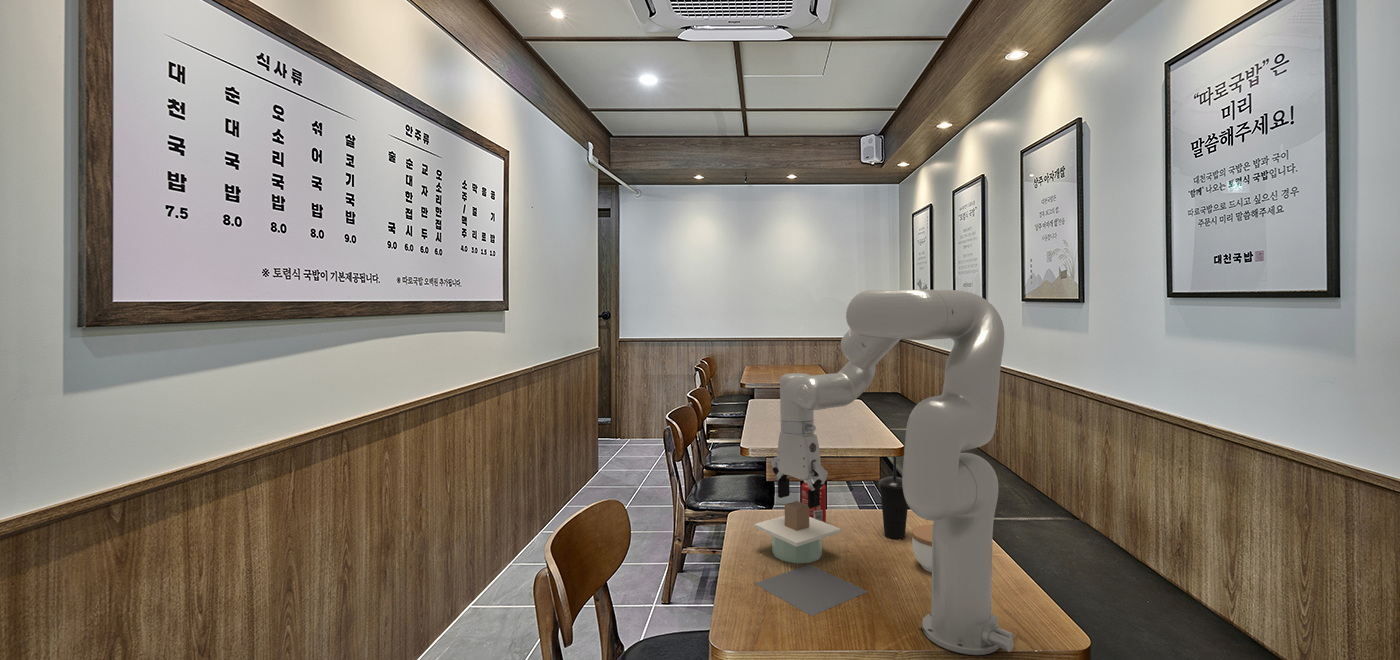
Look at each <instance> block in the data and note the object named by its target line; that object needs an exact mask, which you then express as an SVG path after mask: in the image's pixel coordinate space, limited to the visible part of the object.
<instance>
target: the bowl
mask: <svg viewBox="0 0 1400 660" xmlns="http://www.w3.org/2000/svg"><path fill="white" fill-rule="evenodd" d="M771 552H772V554H773V556H774V557H775V558H776V559H779V560H780V561H783V562H788V563H793V564H811V563H813V562H816V561H818V560H820V559H821V557H822V555H823V538H822V539H819V540H816V541H813V542H810V543H807V544H803V545H800V546H797V547H796V546H794V545H792V544H790V543H787V542H785V541H783V540H781V539H778V538H776V537H774V536H772V535H771Z"/></svg>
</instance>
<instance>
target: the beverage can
mask: <svg viewBox="0 0 1400 660" xmlns="http://www.w3.org/2000/svg"><path fill="white" fill-rule="evenodd" d="M812 482H813V484H814V481H813V480H812ZM808 490H810V488H809V486H808V484H807V483H806V481H805V480H803V483H801V503H804V504H806V505H808ZM809 517H811V518H814V519H817V520H819V521H822V522H824V523H827V485H826V483H825V484H824V485H823V486H822V488H821V489H820V505H819V506H817V507H814V508H809Z"/></svg>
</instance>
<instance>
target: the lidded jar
mask: <svg viewBox="0 0 1400 660" xmlns="http://www.w3.org/2000/svg"><path fill="white" fill-rule="evenodd" d="M932 529H933V524H923V525H922V524H921V525H917V526H914V527H913V528H912V529H911V542H912V543H911V545H912V551H913V554H914V557H915V559H916V561H917V562H918V563H919V564H920V565H921V566H922V568H923V569H924V571H926V572H928V573H930V574H932Z"/></svg>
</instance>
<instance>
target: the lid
mask: <svg viewBox="0 0 1400 660" xmlns="http://www.w3.org/2000/svg"><path fill="white" fill-rule="evenodd" d="M753 528H754V529H757V530H759V531H761V532H763V533H765V534H768V535H770V536H771V537H772V536H774V537H776V538H778V539H781V540H783V541H785V542H787V543H790V544H792V545H794V546H796V547H797V546H800V545H803V544H807V543H810V542H813V541H816V540H819V539H822V540H823V539H826V538H827V537H830V536H834V535H836V534H840V533H841V532H842V528H840V527H836V526H834V525H832V524H829V523H827V522H826V523H824V522H822V521H819V520H817V519H814V518H811V517H809V507H808V505H806V504H804V503H802V501H801V502H800V501H798V500H796V501H792V502H788V503H785V504H784V515H782V516H778V517H774V518H771V519H767V520H764V521H760V522H757V523H754V524H753Z"/></svg>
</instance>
